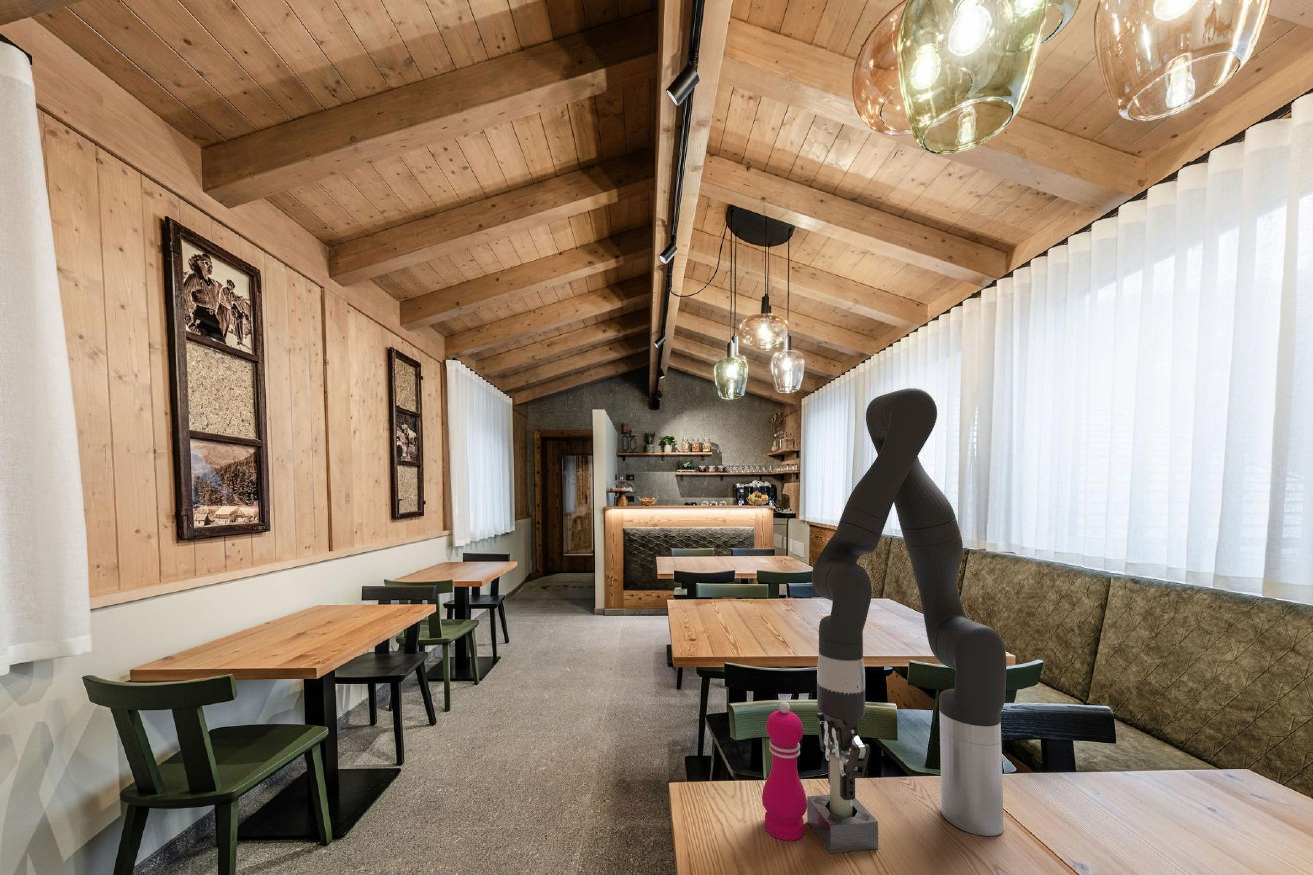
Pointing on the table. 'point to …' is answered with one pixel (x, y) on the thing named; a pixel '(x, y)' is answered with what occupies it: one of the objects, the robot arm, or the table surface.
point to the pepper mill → (784, 777)
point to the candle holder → (842, 826)
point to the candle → (837, 790)
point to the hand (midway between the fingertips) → (841, 791)
